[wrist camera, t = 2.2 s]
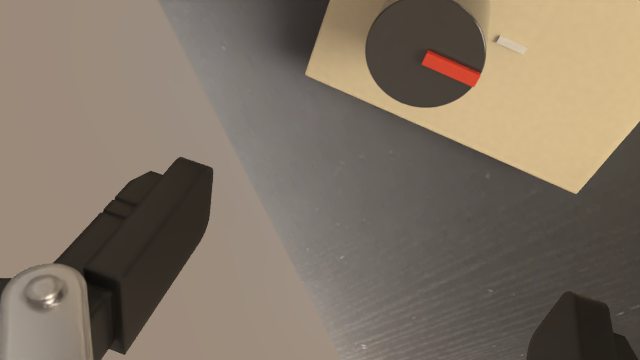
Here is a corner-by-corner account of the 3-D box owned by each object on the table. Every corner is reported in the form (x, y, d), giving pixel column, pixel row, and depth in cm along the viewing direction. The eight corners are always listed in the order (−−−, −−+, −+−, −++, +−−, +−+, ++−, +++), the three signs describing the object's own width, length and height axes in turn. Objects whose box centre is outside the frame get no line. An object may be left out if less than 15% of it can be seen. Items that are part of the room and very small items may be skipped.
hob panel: (316, 56, 32) (303, 76, 30) (398, -178, 24) (387, -173, 22) (572, 168, 31) (576, 196, 29) (737, -32, 24) (758, -13, 22)
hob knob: (371, 36, 27) (346, 83, 23) (411, -59, 24) (390, -24, 20) (460, 75, 27) (450, 129, 23) (510, -15, 24) (510, 28, 20)
